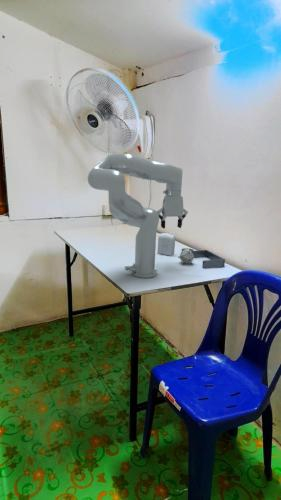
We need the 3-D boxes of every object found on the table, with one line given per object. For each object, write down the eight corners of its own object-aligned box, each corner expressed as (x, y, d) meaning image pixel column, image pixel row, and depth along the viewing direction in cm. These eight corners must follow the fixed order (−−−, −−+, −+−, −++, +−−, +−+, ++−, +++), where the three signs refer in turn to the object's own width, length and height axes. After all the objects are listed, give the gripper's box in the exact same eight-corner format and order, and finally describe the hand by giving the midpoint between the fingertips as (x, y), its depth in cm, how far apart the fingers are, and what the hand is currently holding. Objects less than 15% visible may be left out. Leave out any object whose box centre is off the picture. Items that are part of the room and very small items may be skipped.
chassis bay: (203, 268, 167) (203, 261, 166) (186, 257, 184) (187, 251, 183) (225, 266, 171) (226, 259, 170) (207, 256, 188) (208, 249, 187)
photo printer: (175, 254, 189) (176, 234, 186) (172, 256, 186) (173, 235, 182) (159, 251, 194) (160, 231, 191) (156, 253, 191) (157, 233, 187)
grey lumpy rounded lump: (182, 270, 175) (171, 254, 174) (191, 262, 179) (181, 247, 178) (192, 266, 167) (181, 250, 166) (201, 258, 172) (191, 242, 171)
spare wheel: (184, 255, 188) (184, 251, 187) (179, 252, 194) (179, 248, 194) (195, 255, 190) (195, 250, 189) (190, 251, 196) (190, 247, 196)
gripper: (159, 193, 155) (157, 229, 159) (192, 194, 160) (190, 228, 165) (154, 192, 161) (152, 226, 166) (186, 192, 167) (183, 225, 171)
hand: (171, 227), depth 165 cm, fingers open, 8 cm apart
